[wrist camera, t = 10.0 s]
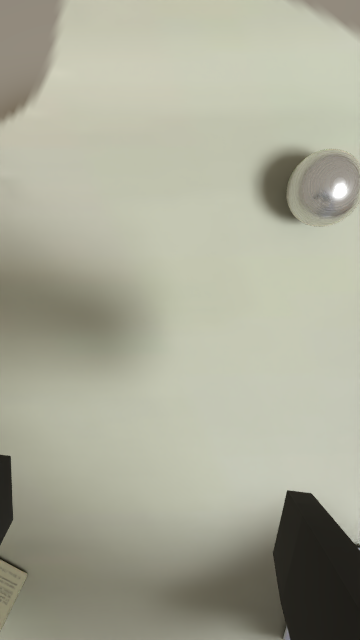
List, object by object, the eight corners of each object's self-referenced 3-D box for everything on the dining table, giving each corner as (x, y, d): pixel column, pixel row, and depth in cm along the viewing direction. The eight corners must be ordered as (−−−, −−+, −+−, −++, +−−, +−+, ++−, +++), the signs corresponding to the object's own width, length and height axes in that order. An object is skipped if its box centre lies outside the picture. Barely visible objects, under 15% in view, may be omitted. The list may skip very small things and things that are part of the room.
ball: (336, 230, 16) (369, 228, 13) (273, 224, 16) (291, 220, 13) (351, 162, 15) (390, 142, 12) (285, 156, 15) (307, 135, 12)
